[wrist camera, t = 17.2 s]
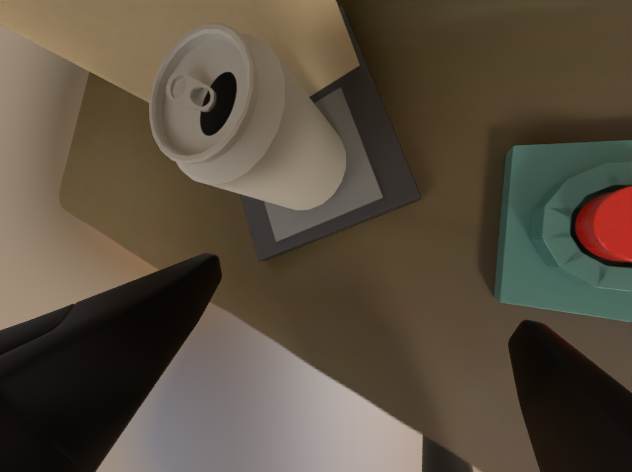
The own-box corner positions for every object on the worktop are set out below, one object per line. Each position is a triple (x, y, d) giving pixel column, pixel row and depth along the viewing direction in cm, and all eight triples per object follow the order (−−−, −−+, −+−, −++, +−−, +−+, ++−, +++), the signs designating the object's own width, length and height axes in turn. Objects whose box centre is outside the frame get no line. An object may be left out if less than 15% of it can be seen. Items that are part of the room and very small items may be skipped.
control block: (685, 325, 14) (759, 347, 11) (493, 297, 18) (508, 308, 15) (699, 146, 15) (776, 118, 11) (505, 154, 18) (522, 133, 15)
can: (325, 226, 21) (218, 202, 10) (258, 192, 24) (117, 146, 13) (365, 140, 20) (293, 13, 9) (290, 115, 23) (167, -5, 12)
